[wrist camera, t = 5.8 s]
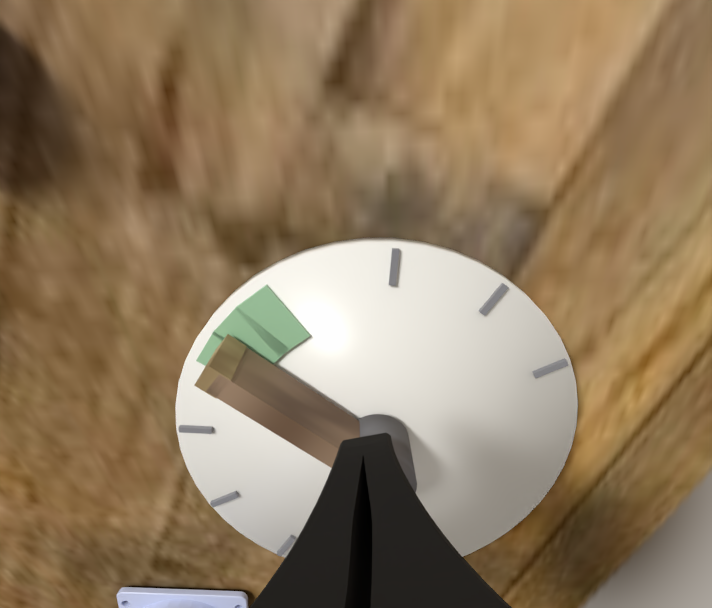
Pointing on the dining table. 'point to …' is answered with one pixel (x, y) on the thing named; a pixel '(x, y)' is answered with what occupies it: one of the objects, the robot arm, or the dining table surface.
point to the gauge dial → (388, 386)
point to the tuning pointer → (293, 406)
